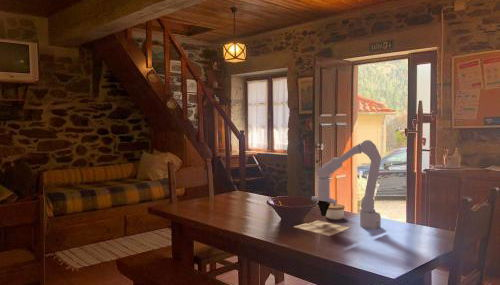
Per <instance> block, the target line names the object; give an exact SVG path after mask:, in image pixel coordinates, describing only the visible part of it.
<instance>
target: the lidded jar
mask: <svg viewBox="0 0 500 285" xmlns="http://www.w3.org/2000/svg"><path fill="white" fill-rule="evenodd" d="M344 214H345V205H343V204H341V203H340V204H338V203H337V204H332V203H331V204H330V206H329V207H328V210H327V213H326V216H325V217H326V218H327V219H328V220H341V219H342V218H343V217H344Z"/></svg>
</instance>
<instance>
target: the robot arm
mask: <svg viewBox="0 0 500 285" xmlns="http://www.w3.org/2000/svg"><path fill="white" fill-rule="evenodd" d="M362 153H363V154H364V155H365V156H367V158H369V160H370V166H369V171H368V174H367V175H368V177H367V182H366V185H365V186H366V187H365V192H364V196H363V197H362V199H361V203H360V209H359V226H360V227H361V228H364V229H370V230H377V229H381V225H382V224H381V223H382V222H381V221H382V219H381V218H382V217H381V214H380V212H377V211H376V209H375V200H374V198H375V192H376V186H377V182H378V181H377V180H378V176H379V172H380V167H381V166H380V165H381V161H382V156H381V154H380V152H379V150H378V147H377V145H376V144H375V143H374V142H373V141H372V140H370V139H365V140H364V141H362V142H360V143H358V144H356V145H354V146H352V147H351V148H349V150H347V151H345V153H343V154H342V155H340V156H339V157H336V156H335V157H332V158H330V160H329V161H328V162H326V163H324V164H323V166H321V167H319V168H318V170H317V176H318V181H317V185H318V187H317V191H318V192H317V195H318V196H315V195H314V196H311V201H316V202H317V203H316V204H317V206H318V208H319V212H320V215H321V217H326V213H327V210H328V207H329V206H330V204H338V203H337V202H338V201H337V199H334V198H331V196H330V175H331V174H333V173H335V172H336V171H337V170H339V169H341V168H342V167H343V163H344V162H346V161H347V160H349V159H350V158H352V157H354V156H355V155H358V154H359V155H360V154H362Z"/></svg>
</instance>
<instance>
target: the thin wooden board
mask: <svg viewBox="0 0 500 285" xmlns="http://www.w3.org/2000/svg"><path fill="white" fill-rule="evenodd" d="M293 228H296V229H301V230H304V231H309V232H312V233H316V234H320V235H325V236H327V237H330V236H333V235H337V234H340V233H342V231H337V230H333V229H329V228H325V227H320V226H316V225H312V224H308V223H307V222H305V223H302V224H299V225H294V226H293Z"/></svg>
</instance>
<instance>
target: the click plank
mask: <svg viewBox="0 0 500 285" xmlns="http://www.w3.org/2000/svg"><path fill="white" fill-rule="evenodd" d="M307 224H311V225H316V226H320V227H324V228H328V229H333V230H337V231H341V232H343V231H345V230H349V229H351V227H349V226H344V225H340V224H335V223H330V222H326V221H321V220H314V221H313V222H309V223H307Z"/></svg>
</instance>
